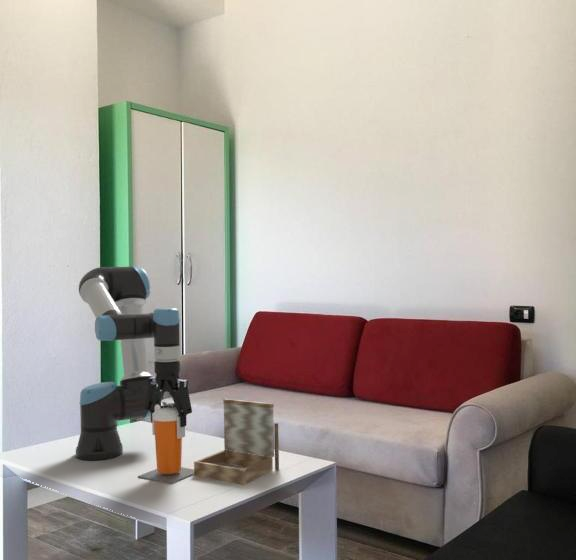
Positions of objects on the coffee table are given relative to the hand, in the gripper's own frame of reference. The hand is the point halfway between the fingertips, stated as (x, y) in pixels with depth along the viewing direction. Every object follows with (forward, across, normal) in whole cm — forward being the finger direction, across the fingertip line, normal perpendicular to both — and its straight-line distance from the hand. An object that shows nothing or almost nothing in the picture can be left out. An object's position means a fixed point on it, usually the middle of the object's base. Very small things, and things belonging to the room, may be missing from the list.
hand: (168, 435), depth 198 cm
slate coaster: (+12, 0, 0) cm, 12 cm away
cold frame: (+12, +17, +12) cm, 23 cm away
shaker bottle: (+11, 0, 0) cm, 11 cm away
